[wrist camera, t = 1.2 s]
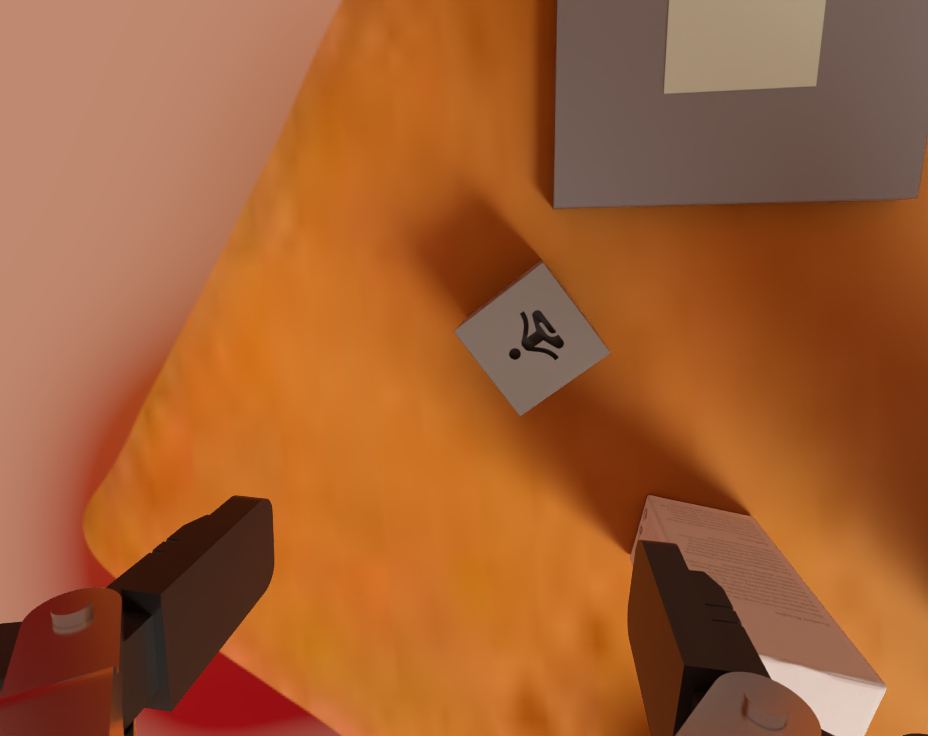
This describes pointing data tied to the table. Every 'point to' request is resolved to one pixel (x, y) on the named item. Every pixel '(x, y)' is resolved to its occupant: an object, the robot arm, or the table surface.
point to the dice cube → (531, 338)
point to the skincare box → (772, 610)
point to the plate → (739, 101)
